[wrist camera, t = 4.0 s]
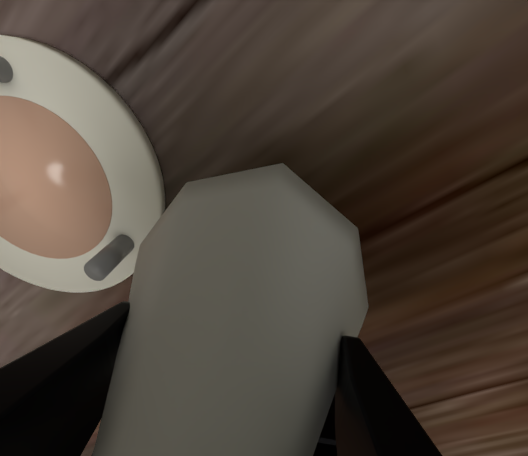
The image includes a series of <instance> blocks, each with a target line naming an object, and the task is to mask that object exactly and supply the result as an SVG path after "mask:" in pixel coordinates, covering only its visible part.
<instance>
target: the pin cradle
mask: <svg viewBox="0 0 528 456" xmlns="http://www.w3.org/2000/svg"><path fill="white" fill-rule="evenodd" d="M164 212H165V189H164V182H163V177H162V173H161V169H160V165H159V162H158V159H157V156H156V154H155V151H154V149H153V146H152V144H151V142H150V140H149V138H148V136H147V134H146V132H145V131H144V129H143V127H142V125H141V124H140V122H139V121H138V119H137V118H136V116H135V115H134V113H133V112H132V110H131V109H130V108H129V107H128V105H127V104H126V103H125V102H124V101H123V99H122V98H121V97H120V96H119V95H118V93H117V92H116V91H115V90H114V89H113V88H112V87H111V86H109V85H108V84H107V83H106V82H105V81H104V80H103V79H102V78H101V77H100V76H99V75H97V74H96V73H95V72H94V71H92V70H91V69H90V68H88V67H87V66H86V65H85V64H83V63H81V62H80V61H78V60H76V59H75V58H73V57H72V56H70V55H68V54H67V53H65V52H63V51H60V50H58V49H56V48H54V47H52V46H50V45H47V44H44V43H41V42H38V41H34V40H31V39H28V38H21V37H15V36H8V35H0V268H1V269H2V270H4V271H6V272H7V273H9V274H11V275H13V276H15V277H17V278H19V279H22V280H24V281H26V282H29V283H31V284H34V285H37V286H41V287H44V288H47V289H52V290H57V291H64V292H91V291H98V290H102V289H105V288H109V287H111V286H114V285H116V284H118V283H120V282H122V281H123V280H125V279H126V278H128V277H129V276H131V275H132V274H133V273H134V269H135V264H136V259H137V255H138V251H139V247H140V244H141V243H142V241H143V240H144V239H145V237H146V236H147V235H148V233H149V232H150V231H151V229H152V228H153V227H154V225H155V224H156V223H157V221H158V220H159V219H160V217H161V216H162V215H163V213H164Z"/></svg>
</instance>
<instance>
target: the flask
mask: <svg viewBox="0 0 528 456" xmlns="http://www.w3.org/2000/svg"><path fill="white" fill-rule="evenodd" d="M128 302H130V311H129V314H128V317H127V319H126V322H125V325H124V327H123V331H122V336H121V340H120V344H119V348H118V352H117V356H116V361H115V365H114V369H113V373H112V377H111V382H110V386H109V390H108V394H107V398H106V402H105V407H104V411H103V415H102V419H101V423H100V427H99V432H98V436H97V440H96V444H95V448H94V451H93V453H92V456H313V454H314V451H315V449H316V446H317V443H318V440H319V437H320V434H321V431H322V429H323V426H324V423H325V420H326V417H327V414H328V411H329V409H330V406H331V403H332V400H333V397H334V394H335V391H336V389H337V386H338V374H339V362H340V350H341V338H342V336H344V335H346V336H353V337H358V334H359V332H360V329H361V327H362V324H363V322H364V319H365V316H366V313H367V310H368V299H367V292H366V284H365V277H364V269H363V261H362V254H361V246H360V239H359V231H358V228H357V227H356V226H355V225H354V224H352V223H351V222H350V221H349V220H348V219H347V218H346V217H344V216H343V215H342V214H341V213H340V212H339V211H337V210H336V209H335V208H334V207H333V206H332V205H331V204H329V203H328V202H327V201H326V200H325V199H324V198H323V197H321V196H320V195H319V194H318V193H317V192H316V191H314V190H313V189H312V188H311V187H310V186H309V185H308V184H306V183H305V182H304V181H303V180H302V179H301V178H299V177H298V176H297V175H296V174H295V173H294V172H293V171H291V170H290V169H289V168H288V167H287V166H286V165H284V164H283V163H280V164H275V165H270V166H265V167H260V168H255V169H250V170H245V171H241V172H236V173H231V174H226V175H221V176H216V177H211V178H206V179H201V180H196V181H191V182H186V184H185V185H184V186H183V188H182V189H181V190H180V192H179V193H178V194H177V196H176V197H175V198H174V200H173V201H172V202H171V204H170V205H169V206H168V208H167V209H166V210H165V212H164V213H163V215H162V216H161V217H160V219H159V220H158V221H157V223H156V224H155V225H154V227H153V228H152V229H151V231H150V232H149V233H148V235H147V236H146V237H145V239H144V240H143V241H142V243H141V244H140V247H139V251H138V255H137V259H136V264H135V269H134V274H133V280H132V285H131V290H130V296H129V301H128Z"/></svg>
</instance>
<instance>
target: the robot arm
mask: <svg viewBox="0 0 528 456" xmlns="http://www.w3.org/2000/svg"><path fill="white" fill-rule="evenodd" d="M129 311H130V302H121V303H119V304H117V305H115V306H113V307H111V308H109V309H108V310H106V311H104V312H102V313H100V314H98V315H97V316H95V317H93V318H91V319H89V320H87V321H86V322H84V323H82V324H80V325H78V326H77V327H75V328H73V329H71V330H69V331H67V332H66V333H64V334H62V335H60V336H58V337H56V338H55V339H53V340H51V341H49V342H47V343H45V344H44V345H42V346H40V347H38V348H36V349H34V350H33V351H31V352H29V353H27V354H25V355H23V356H22V357H20V358H18V359H16V360H14V361H12V362H11V363H9V364H7V365H5V366H3V367H1V368H0V456H80V455H81V454H82V452H83V450H84V448H85V446H86V445H87V443H88V441H89V439H90V438H91V436H92V434H93V432H94V430H95V429H96V427H97V425H98V423H99V422H100V420H101V418H102V415H103V411H104V407H105V402H106V398H107V394H108V390H109V386H110V382H111V377H112V373H113V369H114V365H115V361H116V356H117V352H118V348H119V344H120V340H121V336H122V331H123V327H124V325H125V322H126V319H127V317H128V314H129ZM313 456H442V455H441V453H440V452H439V450H438V449H437V447H436V446H435V445H434V443H433V442H432V440H431V439H430V438H429V436H428V435H427V433H426V432H425V430H424V429H423V428H422V426H421V425H420V423H419V422H418V420H417V419H416V418H415V416H414V415H413V413H412V412H411V411H410V409H409V408H408V406H407V405H406V403H405V402H404V401H403V399H402V398H401V396H400V395H399V393H398V392H397V391H396V389H395V388H394V386H393V385H392V384H391V382H390V381H389V379H388V378H387V376H386V375H385V374H384V372H383V371H382V369H381V368H380V366H379V365H378V364H377V362H376V361H375V359H374V358H373V357H372V355H371V354H370V352H369V351H368V349H367V348H366V347H365V345H364V344H363V342H362V341H361V340H360V339H359V338H358V337H353V336H346V335H344V336H342V338H341V350H340V362H339V374H338V386H337V389H336V391H335V394H334V397H333V400H332V403H331V406H330V409H329V411H328V414H327V417H326V420H325V423H324V426H323V429H322V431H321V434H320V437H319V440H318V443H317V446H316V449H315V451H314V454H313Z"/></svg>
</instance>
